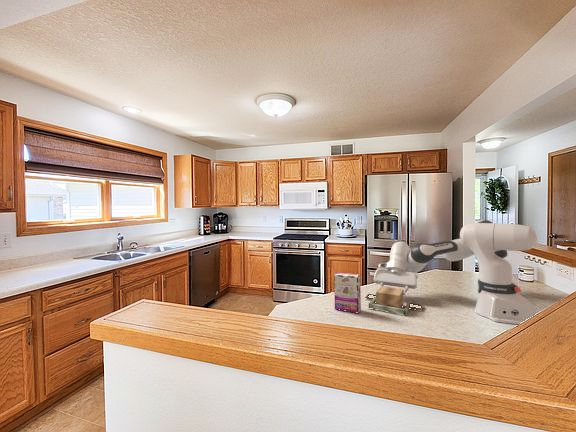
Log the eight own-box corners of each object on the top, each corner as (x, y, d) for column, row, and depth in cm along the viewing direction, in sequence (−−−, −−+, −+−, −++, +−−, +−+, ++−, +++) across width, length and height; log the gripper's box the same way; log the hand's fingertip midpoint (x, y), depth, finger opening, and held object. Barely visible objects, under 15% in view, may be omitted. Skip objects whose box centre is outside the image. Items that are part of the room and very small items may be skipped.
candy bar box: (361, 309, 124) (360, 274, 123) (358, 313, 120) (358, 277, 119) (337, 306, 129) (337, 272, 129) (334, 309, 125) (333, 274, 124)
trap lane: (423, 304, 128) (423, 299, 128) (418, 318, 114) (418, 312, 114) (368, 295, 142) (368, 291, 142) (357, 307, 128) (357, 301, 127)
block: (403, 306, 128) (403, 289, 128) (399, 313, 120) (399, 295, 119) (381, 302, 133) (381, 286, 133) (376, 309, 125) (376, 292, 125)
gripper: (419, 274, 137) (416, 299, 129) (377, 270, 148) (373, 293, 140) (418, 267, 133) (415, 293, 125) (375, 263, 144) (370, 287, 136)
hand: (392, 293), depth 133 cm, fingers open, 8 cm apart
